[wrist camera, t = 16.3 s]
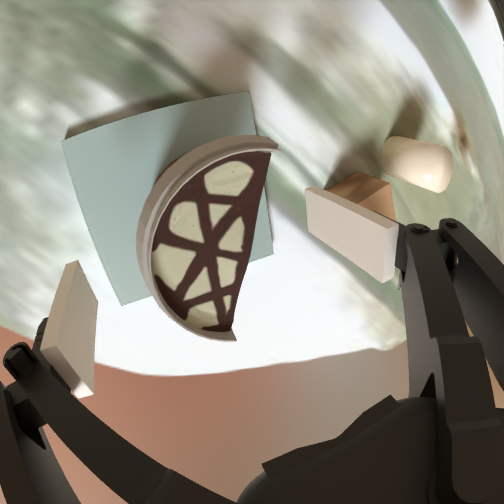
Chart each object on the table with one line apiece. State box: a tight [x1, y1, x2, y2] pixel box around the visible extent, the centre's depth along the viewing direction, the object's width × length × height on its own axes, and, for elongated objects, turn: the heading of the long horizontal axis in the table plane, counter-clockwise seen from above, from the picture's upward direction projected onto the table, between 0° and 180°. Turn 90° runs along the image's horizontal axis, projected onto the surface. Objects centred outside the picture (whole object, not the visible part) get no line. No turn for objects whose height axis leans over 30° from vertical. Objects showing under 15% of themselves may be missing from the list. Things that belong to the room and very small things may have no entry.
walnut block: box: [326, 172, 396, 221], centre depth 28 cm, size 5×5×5 cm
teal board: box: [61, 91, 274, 306], centre depth 23 cm, size 15×15×1 cm
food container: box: [136, 135, 283, 341], centre depth 18 cm, size 12×6×10 cm, turn 166°
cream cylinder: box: [381, 136, 453, 193], centre depth 28 cm, size 5×5×7 cm
